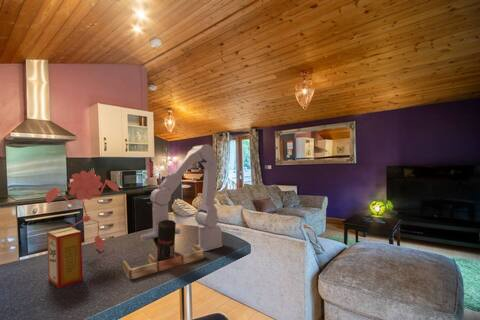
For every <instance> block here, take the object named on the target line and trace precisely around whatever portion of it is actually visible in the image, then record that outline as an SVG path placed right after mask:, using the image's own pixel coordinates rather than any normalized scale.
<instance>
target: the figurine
mask: <svg viewBox="0 0 480 320" xmlns="http://www.w3.org/2000/svg"><path fill="white" fill-rule="evenodd" d="M101 178H102V177H101V176H100V175H96V173H95V170H93V169H91V170H89V171H88V172H87V171H85V170H81V171H80V173H73V174H72V175H71V179H72V181H70V182H69V183H68V184H67V185H68V186H67V187H69V188H70V189H69V191H68V194H69V195H70V196H76V198H75V199H71V200H69V199H68V197H65V196H64V194H63V193H62V192H61V191H59V189H58V188H57V187H56V186H54V187H53V188H51V189H50V190H48V192H47V193H46V194H45V201H46V203H47V204H50V203H52V202H53V201H54V200H56V198H57V197H58V196H59V195H60V196H61V197H62V198H63V199H65V200H66V201H67V202H68V203H73V202H74V201H75V202H76V201H82V207H83V210H84V214H85V215H84V216H83V217H82V220H80V221H78V222H77V223H74V224H73V225H70V227H71V228H73V227H74V226H76V225H78V224H80V223H82V222H85V223H87V222H90V221H92V222H96V223H97V235H95V237H94V244H95V246H94V249H95V250H96V249H97V248H99V249H100V250H103V251H105V242H104V240H103V239H102V237H100V236H99V235H100V234H99V229H100V228H99V227H100V225H99V224H100V222H99V221H98V220H95V219H93V218H91V216H90V215H88V214H87V210H86V206H85V200H89V201H90V200H92V199H93V198H100V196H101V195H102V193H103V190H104V188H105V186H106V185H107V186H108V188H110V189H111V190H113V191H114V192H118V193H119V192H120V189H119V187H118V185H117V184H116V183H115V182H113V181H112V180H109V179H105V182H104V184H103V182H102V181H101ZM100 188H101V189H100ZM99 189H100V190H99ZM70 227H69V228H70ZM112 253H113V254H114V251H112V252H111V254H112ZM107 256H108V255H105V256H102V257H99V258H95V259H94V261H96V260H99V259H102V258H105V257H107ZM92 261H93V259H92V260H90V262H92ZM88 262H89V260H86V261H85V263H88Z"/></svg>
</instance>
